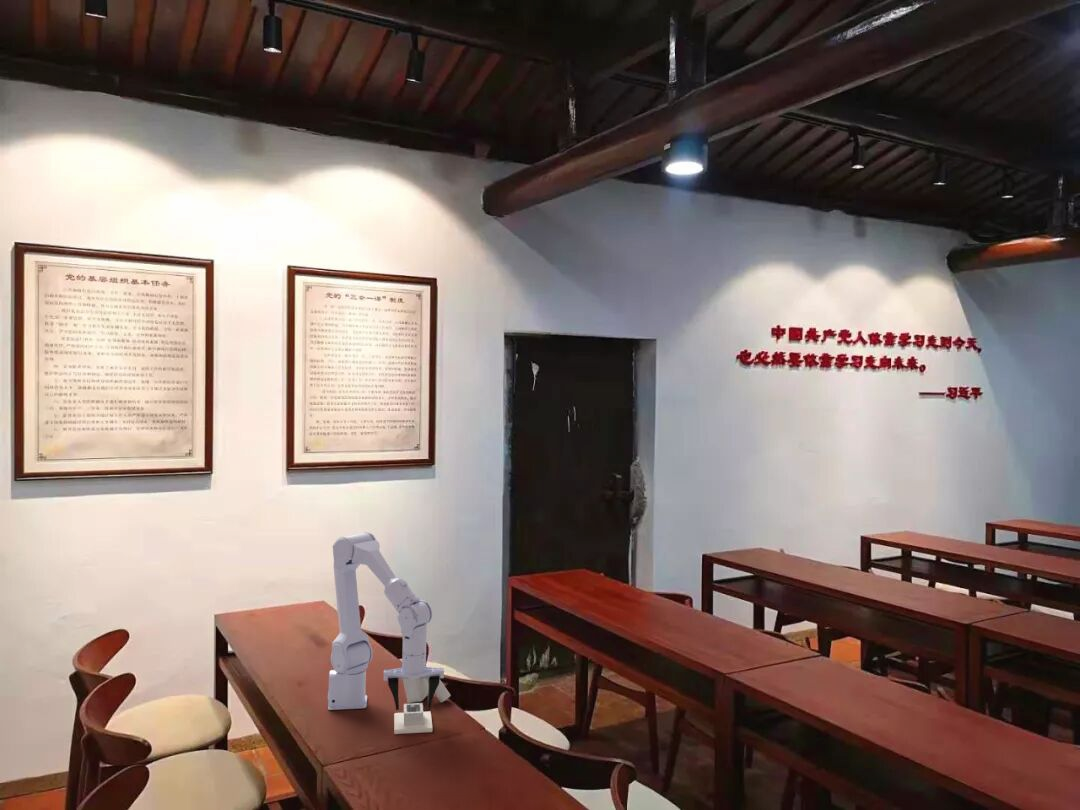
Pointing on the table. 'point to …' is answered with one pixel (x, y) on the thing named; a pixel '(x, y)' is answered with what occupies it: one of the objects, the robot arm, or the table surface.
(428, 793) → the table surface
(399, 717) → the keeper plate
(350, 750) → the table surface
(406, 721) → the hollow square tube
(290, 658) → the table surface
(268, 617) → the table surface
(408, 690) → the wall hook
